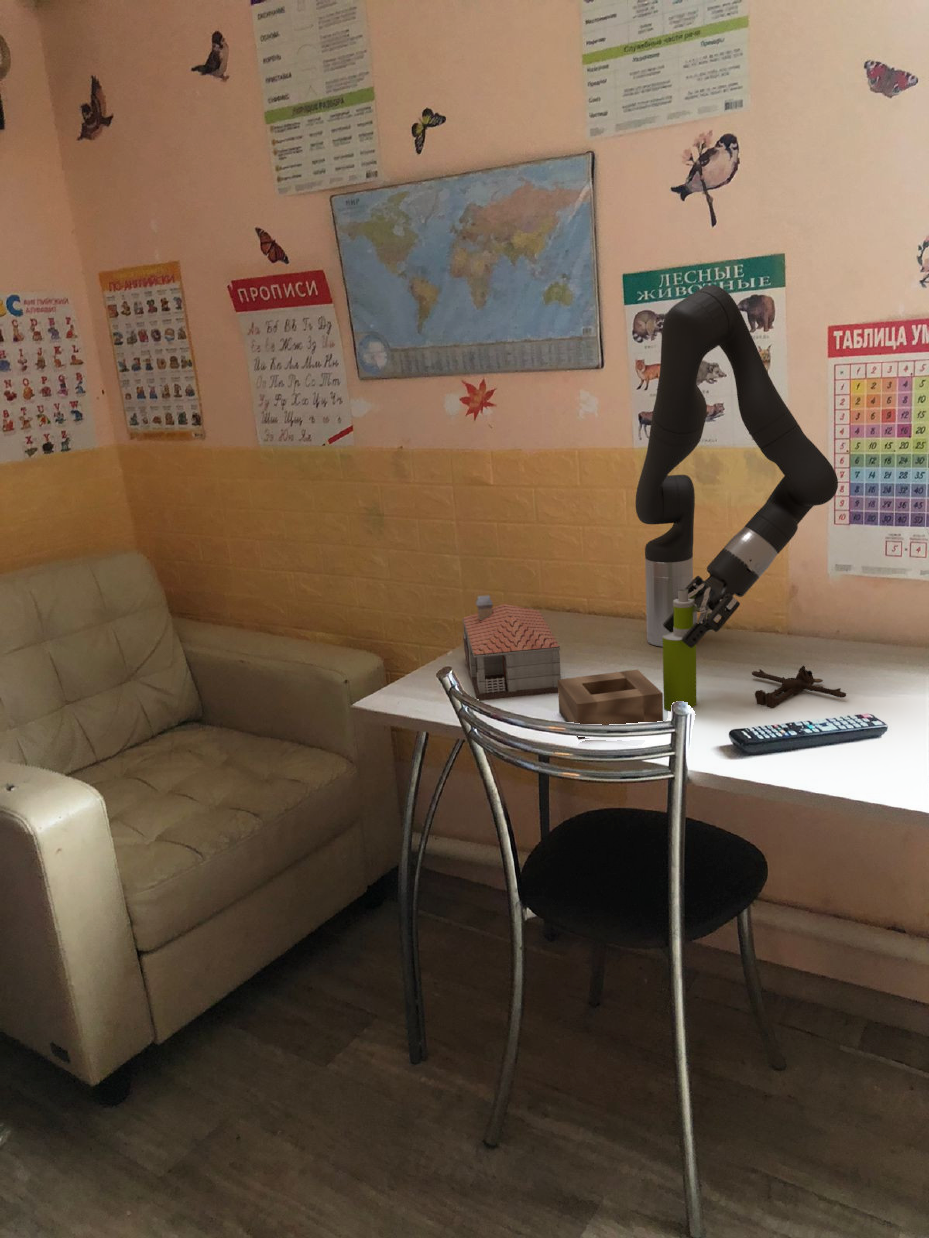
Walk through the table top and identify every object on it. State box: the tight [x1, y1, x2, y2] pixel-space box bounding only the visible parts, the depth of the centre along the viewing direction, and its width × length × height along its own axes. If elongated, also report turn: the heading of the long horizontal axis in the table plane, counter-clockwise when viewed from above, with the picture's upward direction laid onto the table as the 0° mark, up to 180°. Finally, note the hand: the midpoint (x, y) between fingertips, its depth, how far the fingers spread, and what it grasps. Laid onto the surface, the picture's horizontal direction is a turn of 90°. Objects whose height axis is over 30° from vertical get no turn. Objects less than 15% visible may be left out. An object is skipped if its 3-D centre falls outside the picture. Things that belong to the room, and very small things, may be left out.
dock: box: [557, 669, 664, 741], centre depth 169 cm, size 14×12×6 cm
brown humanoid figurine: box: [751, 665, 847, 709], centre depth 175 cm, size 18×4×14 cm
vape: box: [662, 589, 698, 713], centre depth 171 cm, size 4×6×20 cm, turn 128°
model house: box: [462, 595, 562, 702], centre depth 193 cm, size 24×16×15 cm, turn 5°
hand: (676, 636), depth 170 cm, fingers open, 8 cm apart
